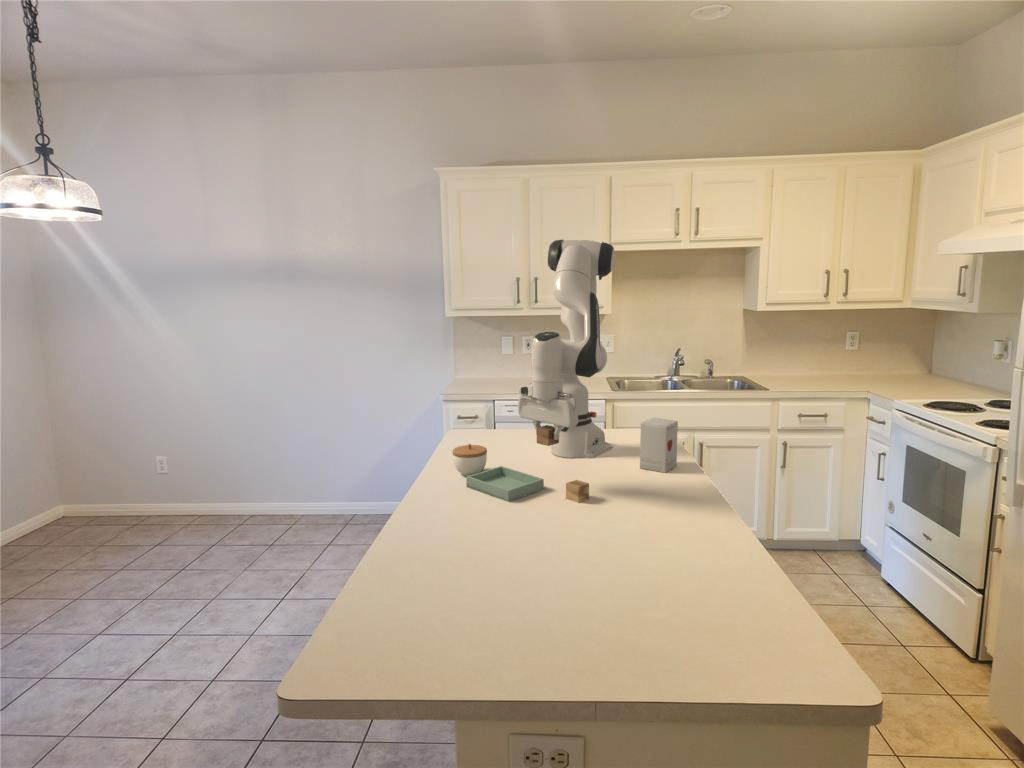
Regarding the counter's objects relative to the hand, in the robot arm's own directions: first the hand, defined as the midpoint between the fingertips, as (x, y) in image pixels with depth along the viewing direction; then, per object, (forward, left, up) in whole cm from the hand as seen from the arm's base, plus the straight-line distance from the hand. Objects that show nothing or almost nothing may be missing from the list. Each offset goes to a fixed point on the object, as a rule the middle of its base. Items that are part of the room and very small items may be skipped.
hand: (547, 437), depth 186 cm
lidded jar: (+7, -27, -15) cm, 32 cm away
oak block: (+1, +12, -15) cm, 19 cm away
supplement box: (-38, +12, -15) cm, 43 cm away
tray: (+9, -9, -15) cm, 20 cm away
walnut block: (0, 0, -2) cm, 2 cm away
